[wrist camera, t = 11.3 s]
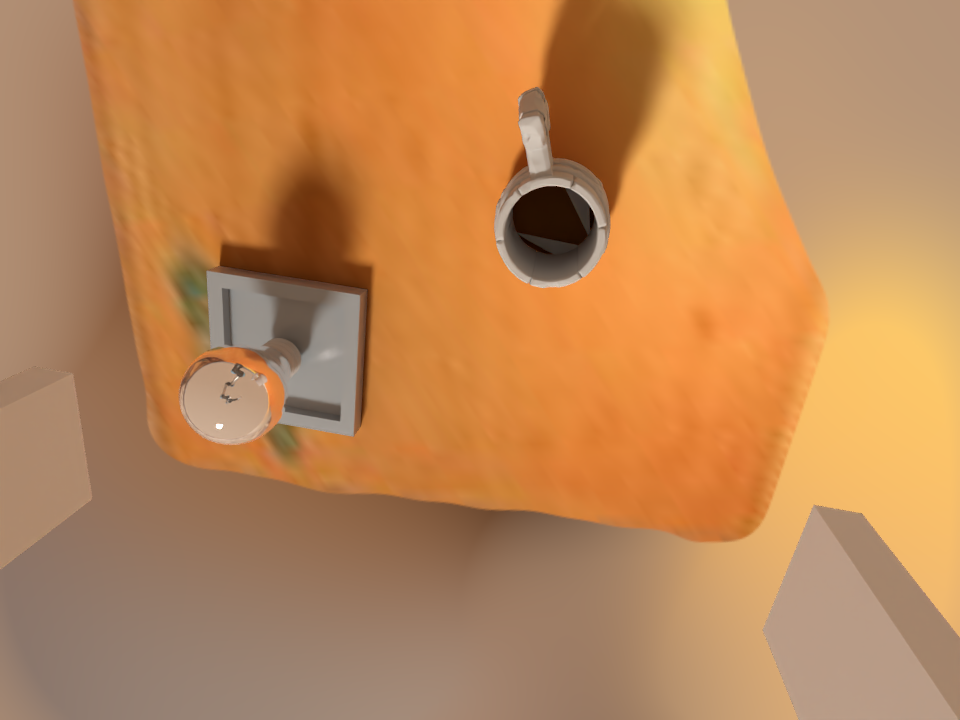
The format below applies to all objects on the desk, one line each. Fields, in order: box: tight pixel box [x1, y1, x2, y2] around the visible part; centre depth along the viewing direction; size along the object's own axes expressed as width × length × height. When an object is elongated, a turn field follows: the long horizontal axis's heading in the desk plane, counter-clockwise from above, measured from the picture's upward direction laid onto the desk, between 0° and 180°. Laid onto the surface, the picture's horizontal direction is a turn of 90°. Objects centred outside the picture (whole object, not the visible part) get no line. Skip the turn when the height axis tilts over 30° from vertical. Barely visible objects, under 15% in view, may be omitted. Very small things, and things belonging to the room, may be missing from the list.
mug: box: [494, 87, 610, 288], centre depth 36 cm, size 8×12×12 cm, turn 13°
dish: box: [207, 266, 368, 437], centre depth 48 cm, size 12×12×2 cm
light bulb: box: [179, 338, 301, 445], centre depth 42 cm, size 7×7×12 cm
